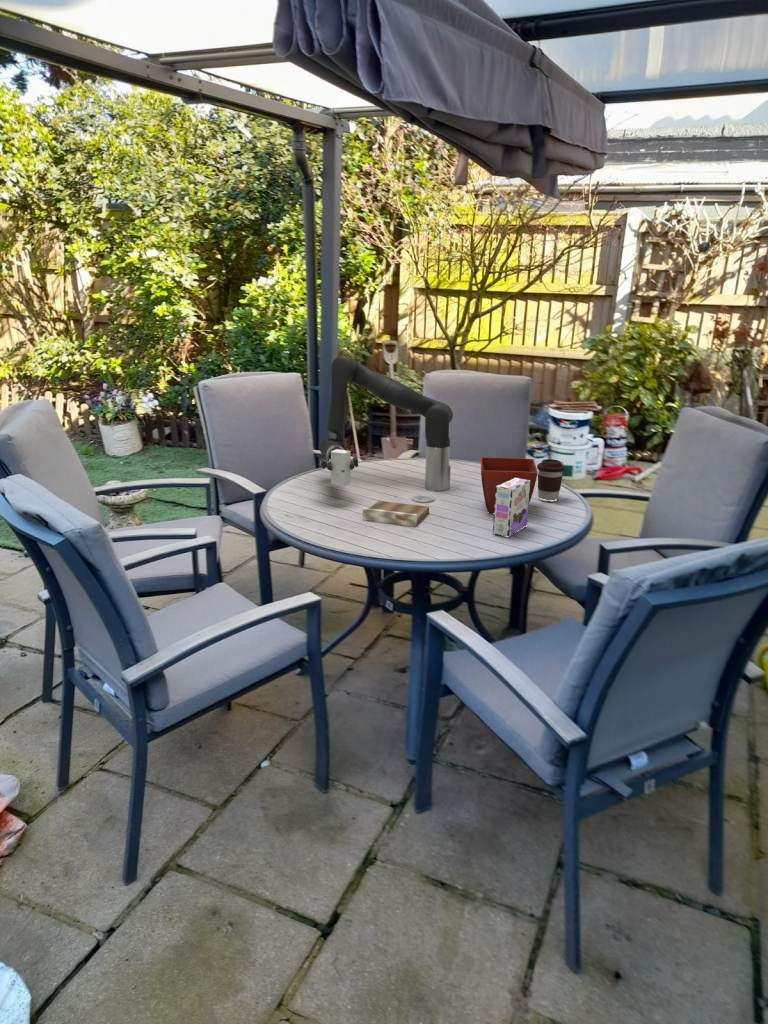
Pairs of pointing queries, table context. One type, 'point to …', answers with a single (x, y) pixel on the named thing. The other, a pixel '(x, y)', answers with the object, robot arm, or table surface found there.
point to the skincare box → (340, 467)
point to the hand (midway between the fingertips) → (341, 467)
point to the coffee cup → (549, 478)
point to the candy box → (511, 506)
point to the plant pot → (505, 475)
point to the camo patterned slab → (396, 513)
